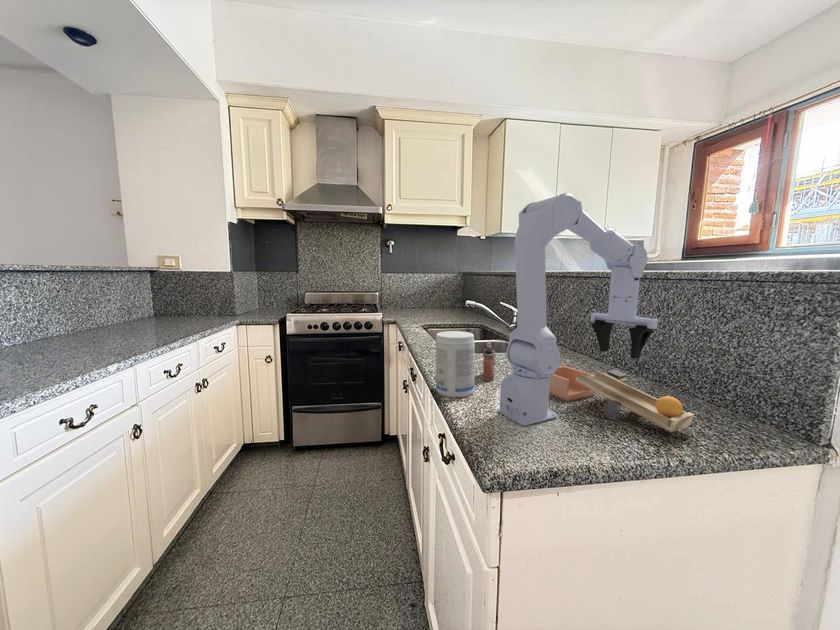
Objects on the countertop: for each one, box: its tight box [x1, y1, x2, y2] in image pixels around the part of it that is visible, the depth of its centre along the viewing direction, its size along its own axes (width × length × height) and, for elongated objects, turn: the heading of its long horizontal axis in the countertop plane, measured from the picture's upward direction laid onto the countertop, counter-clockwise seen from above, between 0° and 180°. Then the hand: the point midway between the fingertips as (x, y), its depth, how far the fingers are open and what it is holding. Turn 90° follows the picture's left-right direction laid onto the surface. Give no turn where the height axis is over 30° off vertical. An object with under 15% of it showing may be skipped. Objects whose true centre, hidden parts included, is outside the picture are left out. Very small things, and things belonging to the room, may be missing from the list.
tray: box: [549, 365, 596, 402], centre depth 80 cm, size 9×9×5 cm
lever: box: [576, 369, 695, 433], centre depth 68 cm, size 13×20×2 cm, turn 26°
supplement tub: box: [435, 330, 476, 399], centre depth 80 cm, size 10×10×15 cm
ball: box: [656, 395, 684, 418], centre depth 60 cm, size 4×4×4 cm
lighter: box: [482, 341, 496, 382], centre depth 92 cm, size 8×3×10 cm, turn 168°
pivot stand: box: [606, 399, 622, 422], centre depth 67 cm, size 10×2×4 cm, turn 116°
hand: (618, 354), depth 77 cm, fingers open, 7 cm apart
